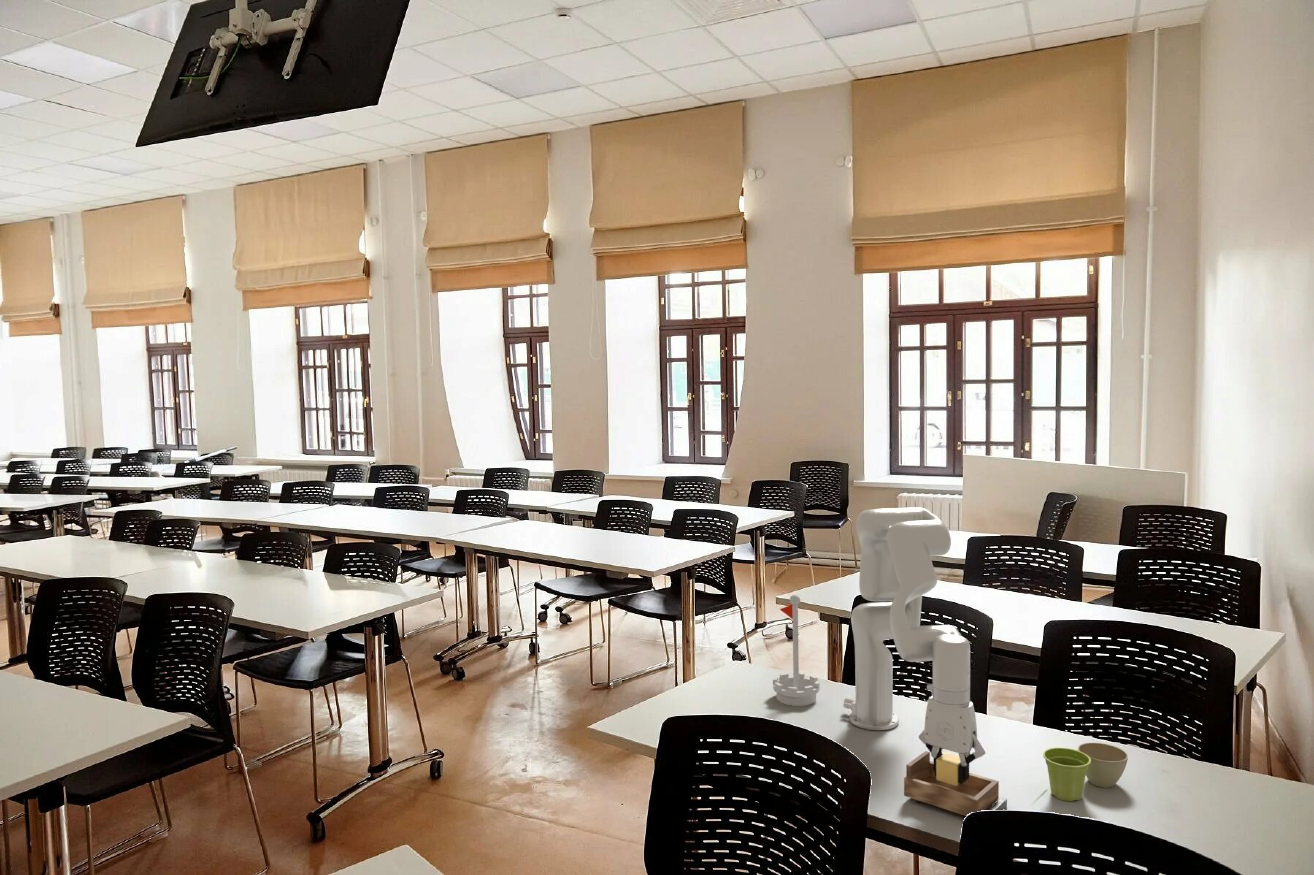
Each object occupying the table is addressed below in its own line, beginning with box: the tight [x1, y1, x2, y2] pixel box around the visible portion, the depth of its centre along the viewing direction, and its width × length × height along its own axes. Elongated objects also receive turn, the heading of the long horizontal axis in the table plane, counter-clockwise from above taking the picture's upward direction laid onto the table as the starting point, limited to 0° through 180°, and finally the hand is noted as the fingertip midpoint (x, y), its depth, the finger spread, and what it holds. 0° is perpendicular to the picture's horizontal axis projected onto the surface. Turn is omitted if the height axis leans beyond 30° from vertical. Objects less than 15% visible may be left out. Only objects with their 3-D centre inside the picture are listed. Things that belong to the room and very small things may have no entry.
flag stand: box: [772, 593, 821, 707], centre depth 257 cm, size 13×13×30 cm
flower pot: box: [1077, 742, 1129, 789], centre depth 203 cm, size 10×10×7 cm
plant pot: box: [1042, 747, 1091, 802], centre depth 198 cm, size 9×9×9 cm
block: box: [936, 752, 960, 786], centre depth 194 cm, size 4×4×4 cm
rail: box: [988, 797, 1008, 810], centre depth 197 cm, size 28×11×2 cm, turn 47°
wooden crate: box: [903, 750, 1000, 817], centre depth 194 cm, size 16×11×8 cm
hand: (951, 777), depth 194 cm, fingers closed on block, 4 cm apart
